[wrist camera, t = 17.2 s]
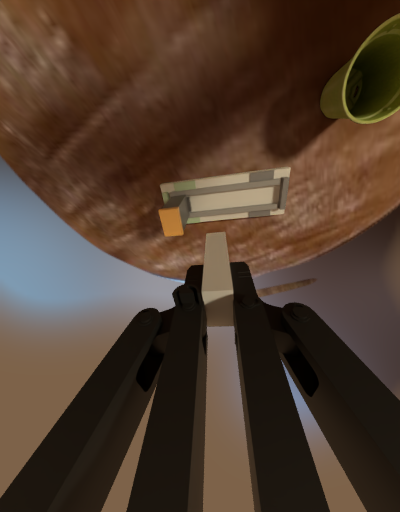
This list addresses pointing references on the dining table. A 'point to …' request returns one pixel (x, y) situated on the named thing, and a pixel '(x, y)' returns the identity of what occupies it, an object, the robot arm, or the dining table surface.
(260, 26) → the dining table surface
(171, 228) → the handle
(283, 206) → the board
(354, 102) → the plant pot
